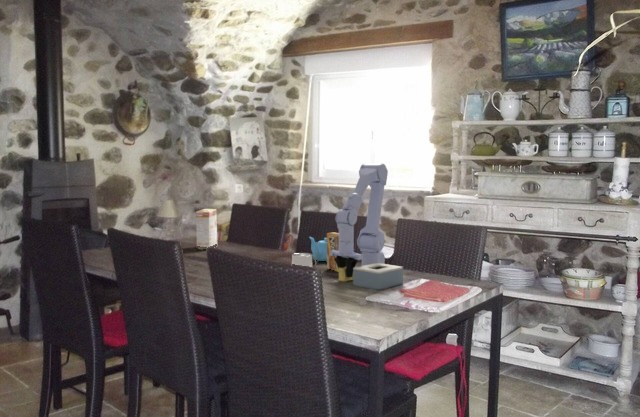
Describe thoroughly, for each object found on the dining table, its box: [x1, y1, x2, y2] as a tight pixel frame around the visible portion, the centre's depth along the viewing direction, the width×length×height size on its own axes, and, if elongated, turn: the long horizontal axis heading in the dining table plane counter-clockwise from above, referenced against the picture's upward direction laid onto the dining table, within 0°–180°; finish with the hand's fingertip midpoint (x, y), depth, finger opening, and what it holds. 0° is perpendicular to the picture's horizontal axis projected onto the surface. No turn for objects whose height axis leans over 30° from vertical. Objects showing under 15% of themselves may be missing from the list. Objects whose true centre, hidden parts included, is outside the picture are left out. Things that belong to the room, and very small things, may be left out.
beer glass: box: [291, 252, 313, 267], centre depth 203 cm, size 7×7×15 cm
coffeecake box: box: [195, 208, 218, 248], centre depth 313 cm, size 15×7×20 cm, turn 174°
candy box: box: [326, 231, 339, 273], centre depth 254 cm, size 9×4×15 cm, turn 33°
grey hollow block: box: [352, 263, 404, 291], centre depth 226 cm, size 14×12×6 cm
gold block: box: [338, 266, 353, 283], centre depth 234 cm, size 5×3×5 cm, turn 136°
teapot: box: [308, 236, 327, 263], centre depth 277 cm, size 15×15×10 cm
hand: (346, 276), depth 234 cm, fingers closed on gold block, 3 cm apart
